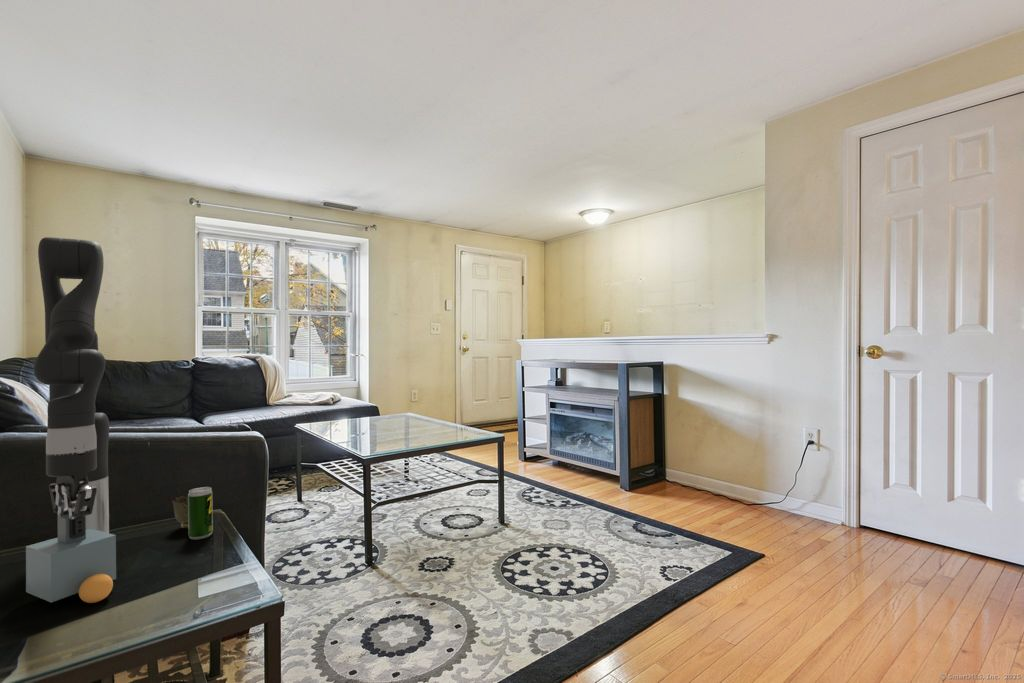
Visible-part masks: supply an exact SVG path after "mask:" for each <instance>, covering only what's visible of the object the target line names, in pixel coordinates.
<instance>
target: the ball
mask: <svg viewBox="0 0 1024 683" xmlns="http://www.w3.org/2000/svg"><path fill="white" fill-rule="evenodd" d="M113 587H114V582H113V580H112V579H111V577H110V576H108V575H106V574H96V575H93V576H90V577H89V578H87V579H86V580H85V581H84V582H83V583H82V584H81V586H80V588H79V593H78V596H79V598H80V599H81V601H83V602H84V603H88V604H95V603H98V602H100V601H102V600H104V599H106V598H107V597H108V596H109V595H110V593H111V592H112V590H113Z"/></svg>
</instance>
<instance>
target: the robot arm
mask: <svg viewBox="0 0 1024 683" xmlns="http://www.w3.org/2000/svg"><path fill="white" fill-rule="evenodd" d="M37 248H38V250H37V254H38V255H37V257H38V265H39V274H40V280H41V287H42V288H41V290H42V295H43V303H44V304H43V305H44V333H45V337H44V342H45V343H44V346H43V347H42V348H41V350H40V352H39V354H38V355H37V357H36V359H35V362H34V365H33V374H34V377H35V379H36V380H37V381H38V382H39V383H41V384H43V385H46V386H48V388H49V397H48V398H49V399H48V400H49V402H48V404H47V433H46V438H45V475H46V476H48V477H50V478H56V482H54V483H50V484H48V488H49V490H48V491H49V493H50V494H49V495H50V499H51V504H52V505H51V506H52V511H53V513H54V514H57V518H58V517H59V516H63V515H67V514H69V518H70V520H69V528H70V538H72V539H75V538H79V537H82V536H84V535H85V516H86V530H87V529H94V530H98V531H102V532H106V533H110V509H109V508H110V506H109V505H110V504H109V501H110V498H109V492H110V491H109V438H110V420H109V417H108V416H107V414H106V413H104V412H95V411H96V410H95V408H96V399H97V394H98V391H99V388H100V384H101V381H102V379H103V376H104V373H105V370H106V358H105V356H104V355H103V353H101V352H100V351H99V336H98V333H97V332H96V330H95V327H96V325H95V324H96V323H95V322H96V321H95V319H96V318H95V317H96V309H97V308H96V307H97V303H98V298H99V295H100V290H101V284H102V281H103V274H104V254H103V249H102V247H101V245H100V244H99V243H98V242H97V241H93V240H87V239H77V238H63V237H50V236H48V237H47V236H46V237H43V238H41V240H40V241H39V243H38V246H37ZM61 279H62V280H63V279H64V280H65V279H66V280H81V281H80V282H79V283H78V284H77V285H76V286H75V287H74V288H73V289H72V290H70V291H69V292H67V293H66V292H65V291H64V288H63V286H62V283H61ZM81 386H82V388H81V389H80V390H79V388H80V387H81ZM78 390H79V391H78ZM77 391H78V392H77Z"/></svg>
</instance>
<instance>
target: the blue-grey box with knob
mask: <svg viewBox="0 0 1024 683" xmlns="http://www.w3.org/2000/svg"><path fill="white" fill-rule="evenodd" d="M69 520H70V518H69V514H67V515H63V516H59V517H58V516H57V537H55V538H50V539H47V540H43V541H40V542H36V543H34V544H30V545H26V546H25V593H27V594H30V595H31V596H34V597H36V598H39V599H42V600H44V601H46V602H49V603H54V602H56V601H60V600H62V599H65V598H67V597H70V596H73V595H76V594H79V588H80V586H81V584H82V583H83V582H84V581H85V580H86V579H87V578H89V577H90V576H93V575H96V574H106V575H108V576H110V577H111V579H112V581H113V580H116V579H117V537H116V536H117V535H116V534H113V533H110V532H109V533H106V532H102V531H98V530H94V529H87V530H86V516H85V535H84V536H82V537H79V538H75V539H72V538H70V528H69Z"/></svg>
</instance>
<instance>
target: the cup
mask: <svg viewBox="0 0 1024 683" xmlns="http://www.w3.org/2000/svg"><path fill="white" fill-rule="evenodd" d="M171 501H172V508H173V513H174V518H175V520H176V521H177V522H179V523H181V524H180V526H181V528H182V529H188V495H187V496H182V495H181V496H180V497H176V498H175V501H174V500H171Z"/></svg>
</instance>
